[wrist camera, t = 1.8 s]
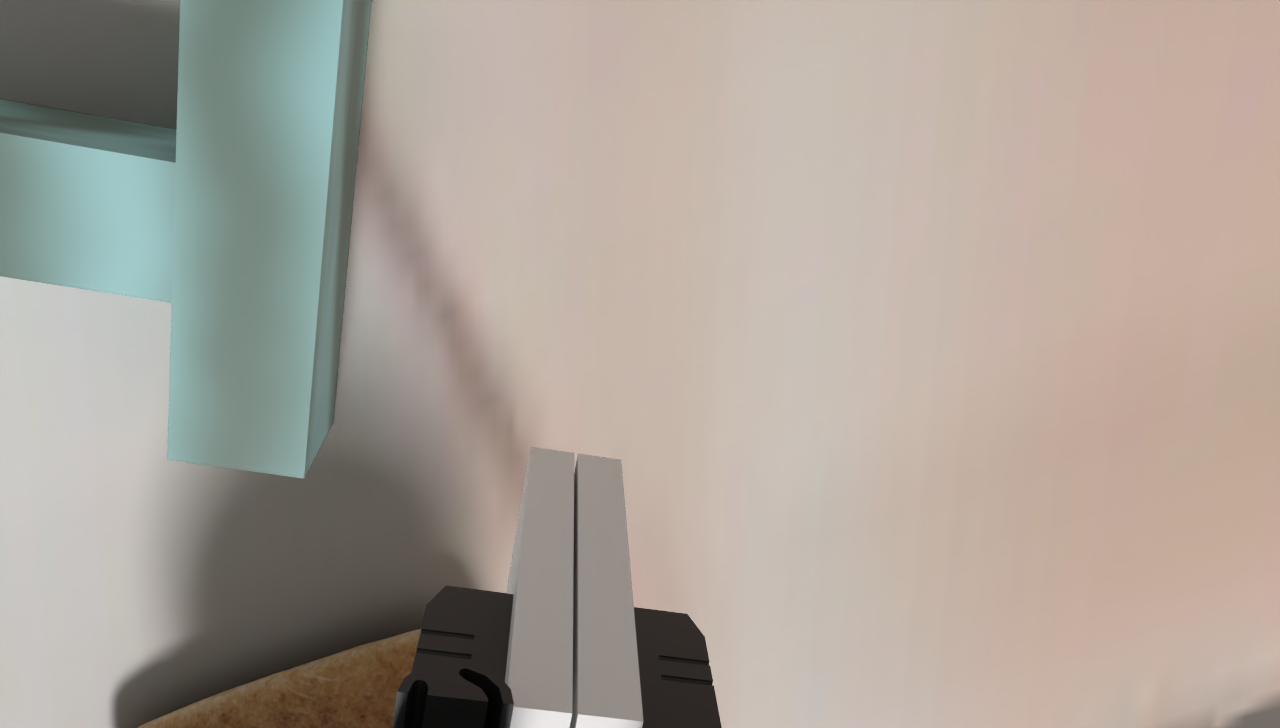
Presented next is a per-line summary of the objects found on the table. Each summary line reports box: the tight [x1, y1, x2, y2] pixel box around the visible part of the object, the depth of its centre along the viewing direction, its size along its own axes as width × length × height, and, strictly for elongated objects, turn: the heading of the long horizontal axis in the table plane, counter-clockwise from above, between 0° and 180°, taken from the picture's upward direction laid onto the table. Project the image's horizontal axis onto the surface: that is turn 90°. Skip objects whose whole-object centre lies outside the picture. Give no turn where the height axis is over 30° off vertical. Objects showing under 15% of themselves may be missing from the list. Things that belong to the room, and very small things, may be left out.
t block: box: [0, 0, 372, 479], centre depth 30 cm, size 14×14×4 cm
